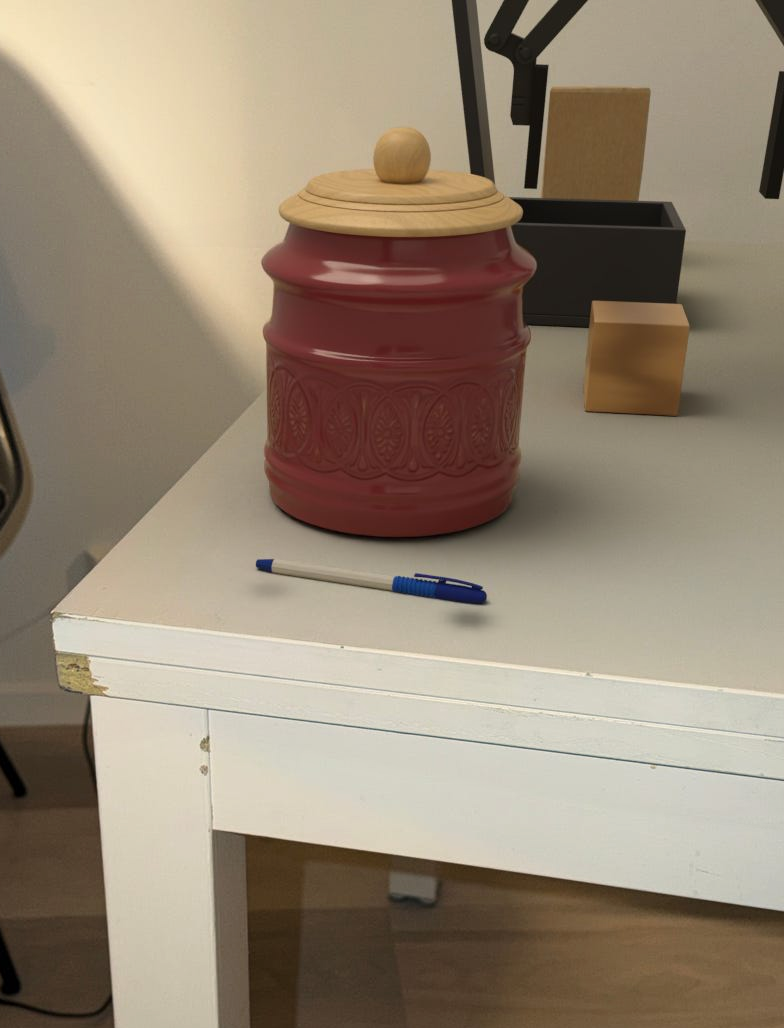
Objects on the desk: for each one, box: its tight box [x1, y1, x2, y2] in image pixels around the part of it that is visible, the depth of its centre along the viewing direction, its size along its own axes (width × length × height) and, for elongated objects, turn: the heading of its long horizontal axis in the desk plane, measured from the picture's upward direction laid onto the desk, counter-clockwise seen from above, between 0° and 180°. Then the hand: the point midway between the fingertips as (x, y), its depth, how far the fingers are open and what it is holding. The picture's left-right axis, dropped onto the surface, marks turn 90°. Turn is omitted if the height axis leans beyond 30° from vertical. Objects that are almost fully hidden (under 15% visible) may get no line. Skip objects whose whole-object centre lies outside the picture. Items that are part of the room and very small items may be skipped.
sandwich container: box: [540, 85, 652, 201], centre depth 121 cm, size 9×15×15 cm, turn 170°
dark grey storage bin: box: [507, 196, 687, 328], centre depth 102 cm, size 15×13×7 cm
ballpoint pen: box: [255, 558, 488, 605], centre depth 57 cm, size 10×1×1 cm, turn 72°
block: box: [582, 301, 691, 417], centre depth 80 cm, size 6×6×6 cm
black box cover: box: [451, 0, 496, 186], centre depth 98 cm, size 15×13×1 cm
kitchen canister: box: [260, 126, 537, 538], centre depth 63 cm, size 13×13×18 cm
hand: (648, 191), depth 76 cm, fingers open, 13 cm apart
